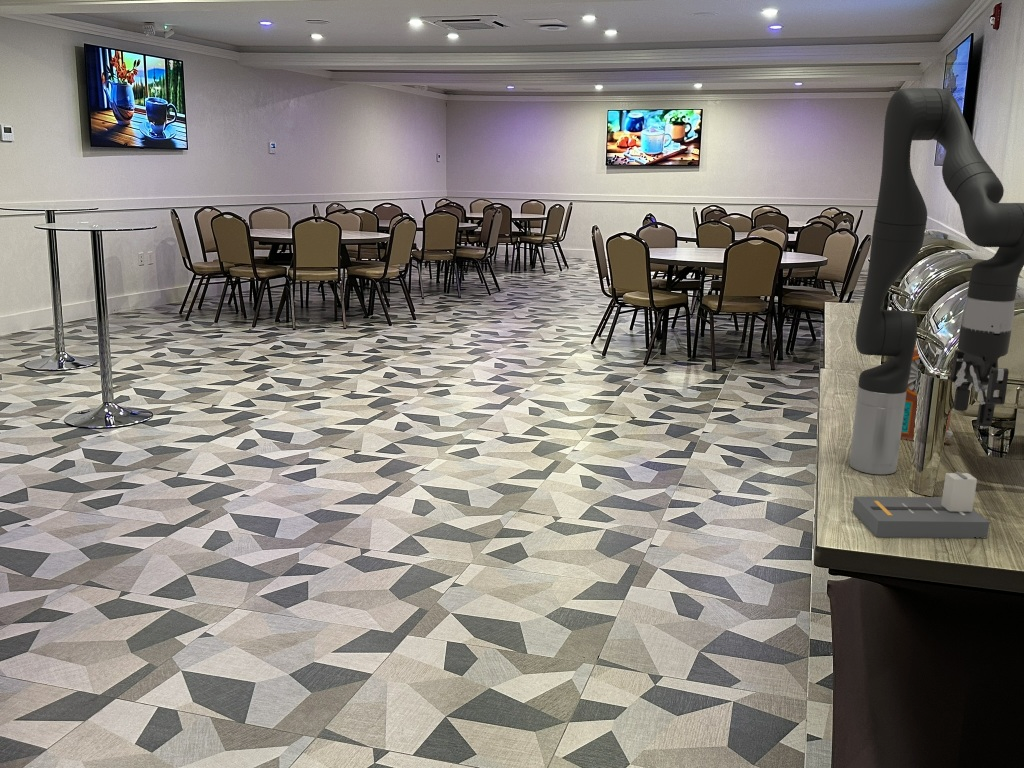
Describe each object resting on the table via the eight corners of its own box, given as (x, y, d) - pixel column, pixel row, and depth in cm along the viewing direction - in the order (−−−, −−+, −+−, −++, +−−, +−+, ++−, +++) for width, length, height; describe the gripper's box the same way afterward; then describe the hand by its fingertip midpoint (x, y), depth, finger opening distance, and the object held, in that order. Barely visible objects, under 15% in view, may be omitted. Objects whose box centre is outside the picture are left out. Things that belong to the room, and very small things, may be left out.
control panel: (949, 448, 197) (878, 436, 205) (953, 440, 203) (884, 428, 211) (962, 354, 192) (889, 346, 200) (967, 349, 197) (896, 340, 205)
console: (852, 511, 162) (854, 495, 161) (955, 512, 162) (958, 496, 161) (876, 537, 151) (878, 520, 151) (986, 538, 151) (989, 521, 151)
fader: (941, 504, 157) (946, 471, 156) (963, 504, 157) (968, 471, 156) (949, 511, 154) (954, 477, 153) (972, 511, 154) (977, 477, 153)
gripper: (944, 316, 154) (931, 405, 158) (984, 334, 140) (969, 430, 145) (988, 316, 154) (973, 405, 158) (1032, 334, 140) (1015, 431, 144)
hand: (971, 417), depth 151 cm, fingers open, 8 cm apart
